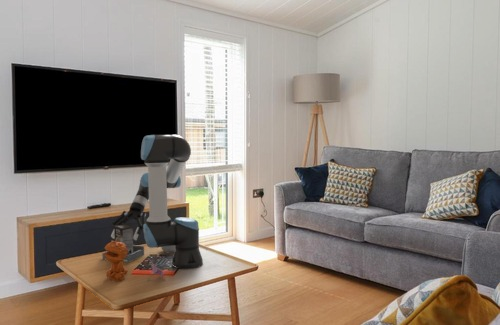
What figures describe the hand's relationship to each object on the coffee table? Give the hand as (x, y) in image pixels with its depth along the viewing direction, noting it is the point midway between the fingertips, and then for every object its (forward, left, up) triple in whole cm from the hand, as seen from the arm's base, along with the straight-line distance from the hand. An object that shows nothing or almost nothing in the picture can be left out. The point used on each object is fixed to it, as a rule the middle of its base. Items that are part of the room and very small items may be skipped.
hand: (123, 238), depth 231 cm
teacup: (-18, -19, -10) cm, 28 cm away
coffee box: (0, 0, -10) cm, 10 cm away
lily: (-35, +26, -10) cm, 45 cm away
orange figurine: (-17, +30, -10) cm, 36 cm away
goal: (0, 0, -10) cm, 10 cm away
